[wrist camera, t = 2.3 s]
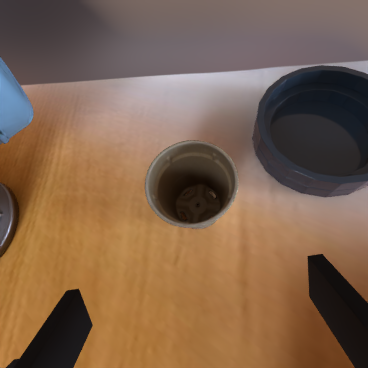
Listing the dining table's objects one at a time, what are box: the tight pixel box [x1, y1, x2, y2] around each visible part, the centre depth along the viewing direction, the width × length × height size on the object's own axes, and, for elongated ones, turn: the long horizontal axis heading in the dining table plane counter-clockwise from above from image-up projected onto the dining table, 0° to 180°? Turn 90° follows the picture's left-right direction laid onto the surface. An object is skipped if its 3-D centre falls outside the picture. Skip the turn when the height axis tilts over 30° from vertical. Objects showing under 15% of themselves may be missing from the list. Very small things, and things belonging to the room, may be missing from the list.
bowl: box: [252, 65, 368, 197], centre depth 30 cm, size 17×17×5 cm
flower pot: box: [145, 140, 238, 229], centre depth 28 cm, size 9×9×9 cm
